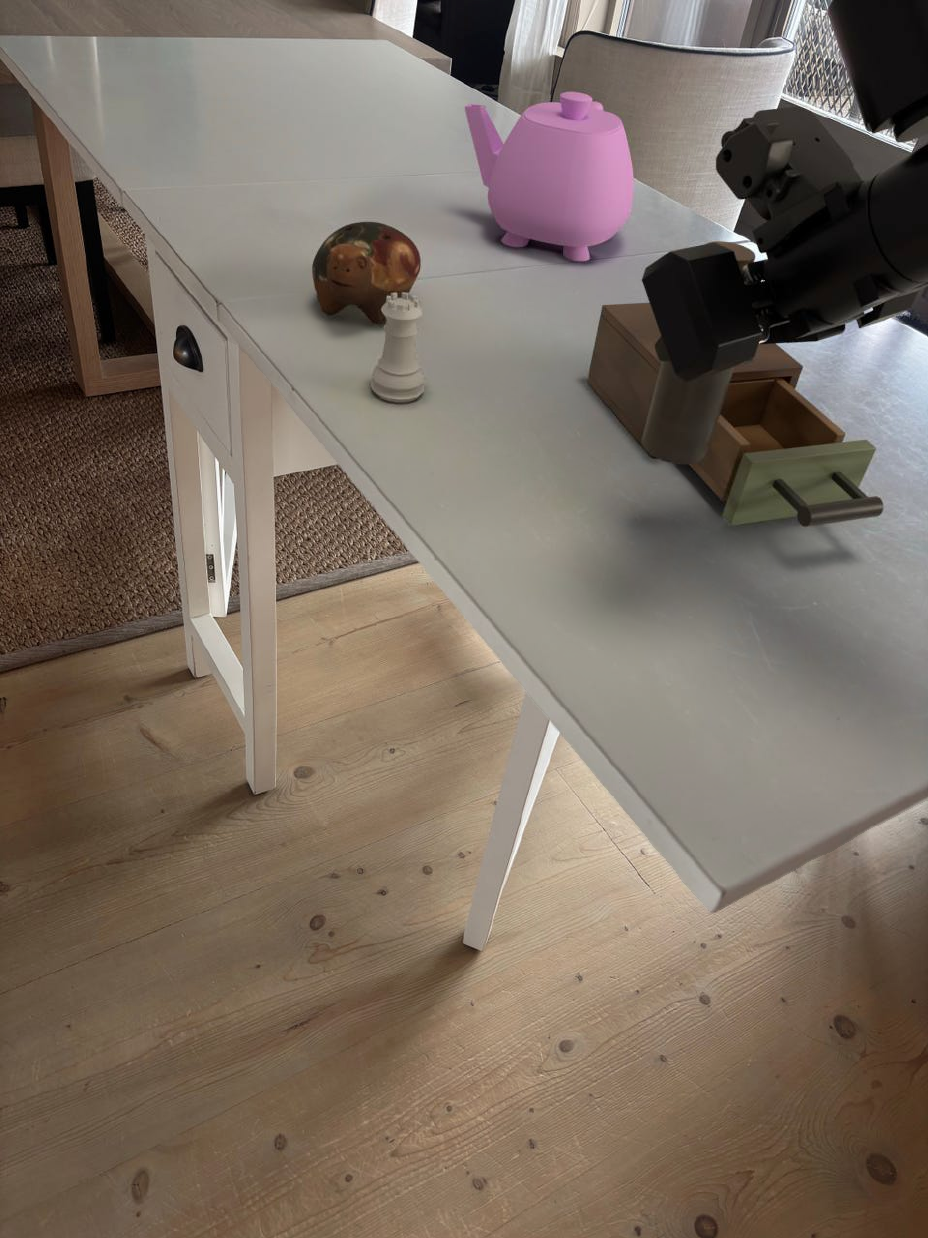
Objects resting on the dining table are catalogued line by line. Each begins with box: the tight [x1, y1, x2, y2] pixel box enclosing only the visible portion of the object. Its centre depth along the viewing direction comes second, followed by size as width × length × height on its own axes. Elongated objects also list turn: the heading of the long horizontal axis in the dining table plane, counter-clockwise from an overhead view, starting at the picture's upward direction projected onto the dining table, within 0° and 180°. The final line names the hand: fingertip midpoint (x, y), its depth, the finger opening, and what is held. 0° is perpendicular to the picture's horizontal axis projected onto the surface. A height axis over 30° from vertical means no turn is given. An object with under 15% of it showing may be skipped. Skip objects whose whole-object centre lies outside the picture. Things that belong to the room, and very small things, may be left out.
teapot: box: [464, 91, 635, 262], centre depth 105 cm, size 20×20×15 cm
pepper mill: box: [642, 240, 761, 465], centre depth 58 cm, size 4×4×13 cm
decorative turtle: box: [311, 221, 422, 326], centre depth 88 cm, size 10×15×8 cm, turn 170°
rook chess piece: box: [370, 292, 425, 404], centre depth 76 cm, size 4×4×8 cm
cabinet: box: [586, 302, 804, 459], centre depth 78 cm, size 13×12×7 cm
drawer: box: [688, 377, 884, 528], centre depth 69 cm, size 16×10×5 cm, turn 19°
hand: (684, 345), depth 59 cm, fingers closed on pepper mill, 4 cm apart
